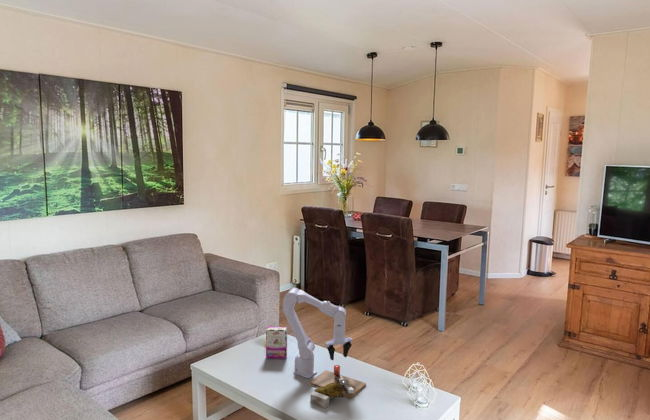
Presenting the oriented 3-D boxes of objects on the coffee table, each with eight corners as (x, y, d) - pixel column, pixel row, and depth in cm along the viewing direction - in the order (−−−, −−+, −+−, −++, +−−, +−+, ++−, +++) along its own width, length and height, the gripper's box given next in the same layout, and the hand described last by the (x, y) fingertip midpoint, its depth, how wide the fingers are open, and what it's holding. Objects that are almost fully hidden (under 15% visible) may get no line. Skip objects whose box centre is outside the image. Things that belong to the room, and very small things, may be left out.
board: (293, 396, 211) (293, 387, 211) (325, 372, 235) (325, 364, 234) (336, 412, 199) (336, 403, 199) (365, 385, 223) (366, 377, 222)
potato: (321, 390, 217) (321, 374, 216) (345, 398, 211) (345, 382, 210) (311, 398, 210) (312, 382, 209) (336, 406, 203) (337, 389, 202)
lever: (355, 393, 213) (355, 382, 212) (346, 394, 211) (346, 383, 210) (339, 374, 230) (339, 364, 229) (331, 376, 228) (331, 365, 228)
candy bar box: (287, 355, 253) (287, 326, 251) (286, 359, 248) (286, 330, 246) (267, 354, 254) (267, 326, 252) (265, 358, 249) (265, 329, 247)
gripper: (330, 337, 221) (329, 364, 222) (356, 332, 228) (355, 358, 230) (323, 332, 227) (322, 358, 229) (348, 327, 234) (347, 352, 236)
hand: (338, 358), depth 229 cm, fingers open, 7 cm apart
